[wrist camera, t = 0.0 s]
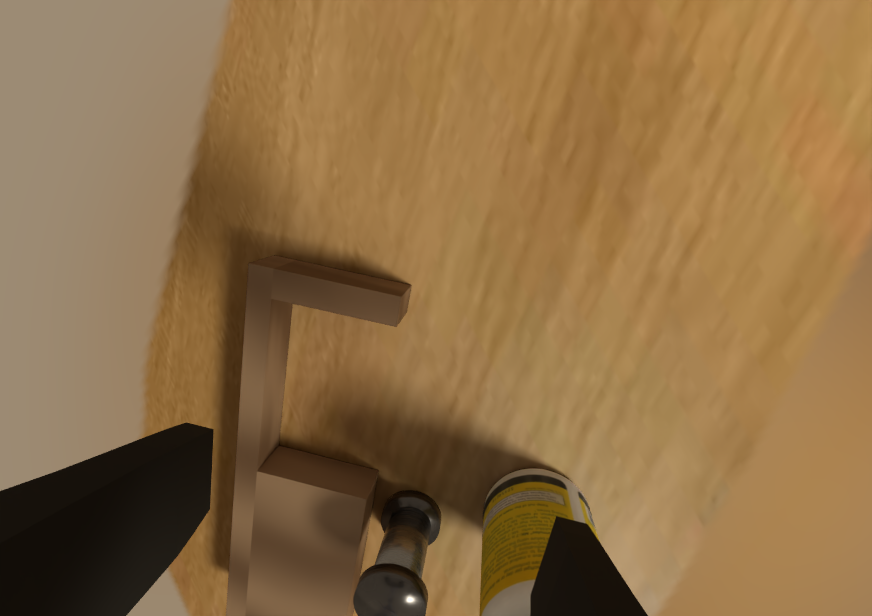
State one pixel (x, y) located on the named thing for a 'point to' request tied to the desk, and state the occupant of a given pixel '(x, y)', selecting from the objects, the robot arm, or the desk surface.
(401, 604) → the spool post
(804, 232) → the desk surface
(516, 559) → the supplement bottle
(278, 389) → the notched board
